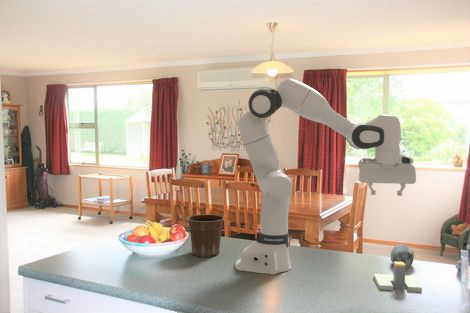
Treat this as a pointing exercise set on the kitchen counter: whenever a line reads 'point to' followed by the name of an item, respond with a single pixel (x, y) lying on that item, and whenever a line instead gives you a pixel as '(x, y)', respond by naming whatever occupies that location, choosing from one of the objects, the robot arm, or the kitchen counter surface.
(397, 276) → the grey and yellow block
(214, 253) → the plant pot
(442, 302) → the kitchen counter surface
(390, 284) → the notched board
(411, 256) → the grey oval lump
